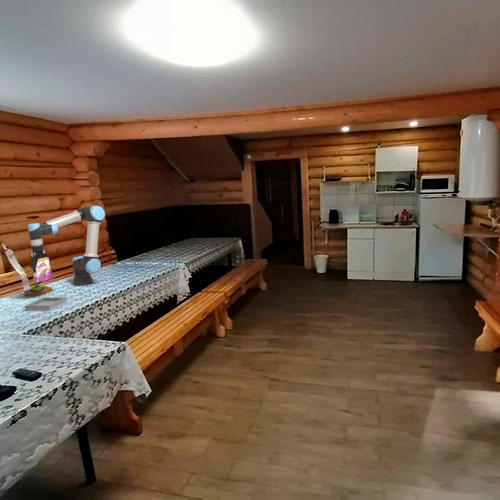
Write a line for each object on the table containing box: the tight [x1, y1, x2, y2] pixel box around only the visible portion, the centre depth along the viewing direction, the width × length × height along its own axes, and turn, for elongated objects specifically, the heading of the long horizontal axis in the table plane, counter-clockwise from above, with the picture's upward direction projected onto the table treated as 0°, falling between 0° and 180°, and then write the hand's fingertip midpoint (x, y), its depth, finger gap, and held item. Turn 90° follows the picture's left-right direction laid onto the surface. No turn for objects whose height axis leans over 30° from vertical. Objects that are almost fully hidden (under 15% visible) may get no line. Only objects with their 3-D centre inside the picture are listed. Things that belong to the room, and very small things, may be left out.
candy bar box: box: [31, 257, 53, 284], centre depth 278 cm, size 11×5×16 cm, turn 134°
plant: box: [23, 281, 54, 298], centre depth 299 cm, size 20×20×11 cm
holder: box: [24, 296, 68, 312], centre depth 262 cm, size 18×18×4 cm
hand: (42, 274), depth 279 cm, fingers closed on candy bar box, 11 cm apart
